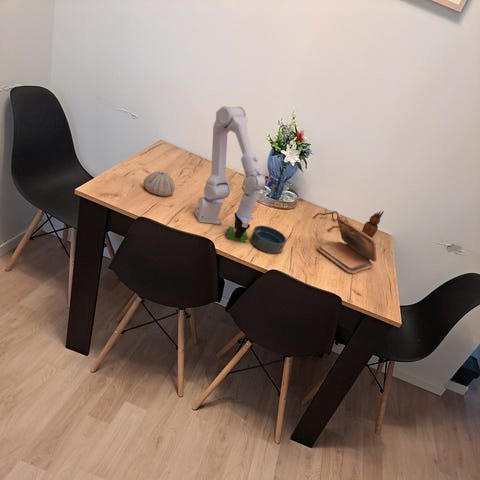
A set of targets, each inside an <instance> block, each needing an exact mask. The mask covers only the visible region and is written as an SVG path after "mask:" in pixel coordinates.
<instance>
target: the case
mask: <svg viewBox="0 0 480 480" xmlns="http://www.w3.org/2000/svg"><path fill="white" fill-rule="evenodd" d="M341 218H342V217H341ZM341 218H338V219H337V218H336V219H337V221H336V222H337V224H338V227H339V228H338V229H339V232H340V233H339V234H340V237H341V240H342V241H343V242H342V241H335V242H331V243H326V244H323V245H318V246H317V251H318V252H320V253H321V254H322V255H323V256H324V257H326V258H327V259H329V260H330V261H331V262H333V264H335V265H337V266H338V267H339V268H341V269H342V270H344V271H345V272H346V273H348V274H356V273H359V272H362V271H365V270H368V269H370V268H373V264H372V263H373V262H375V263H376V262H377V261H378V258H377V243H376V240H374V238H373V237H372V238H371V237H369V236H368V235H366V234H365V233H363V232H362V230H361V229H358V228H357V227H355V226H354V225H353V224H351V223H350V222H349V221H348V222H349V223H348V222H346V221H345V220H346V219H343V218H342V219H341Z"/></svg>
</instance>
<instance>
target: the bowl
mask: <svg viewBox="0 0 480 480" xmlns="http://www.w3.org/2000/svg"><path fill="white" fill-rule="evenodd" d="M250 242H251V244H252V245H253V246H254V247H255V248H256V249H258V250H260V251H262V252H264V253H268V254H279V253H282V252H283V249H284V247H285V244H286V242H287V237H286V236H285V235H284V234H283V233H282V232H281V231H279V230H277V229H275V228H274V227H270V226H267V225H256V226H254V228H253V230H252V233H251V236H250Z"/></svg>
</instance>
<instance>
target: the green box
mask: <svg viewBox="0 0 480 480" xmlns="http://www.w3.org/2000/svg"><path fill="white" fill-rule="evenodd" d="M225 232H226V236H227V239H228V240H233V241H237V242H241V243H246V241H248V239H249V238H248V233H247V230H246V231H245V232H244V234H243V235H242V237H241V238H240V239H238V238H235V232H236V228H235V227H234V226H231V225H230V226H228V227H227V228H226V231H225Z"/></svg>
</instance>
